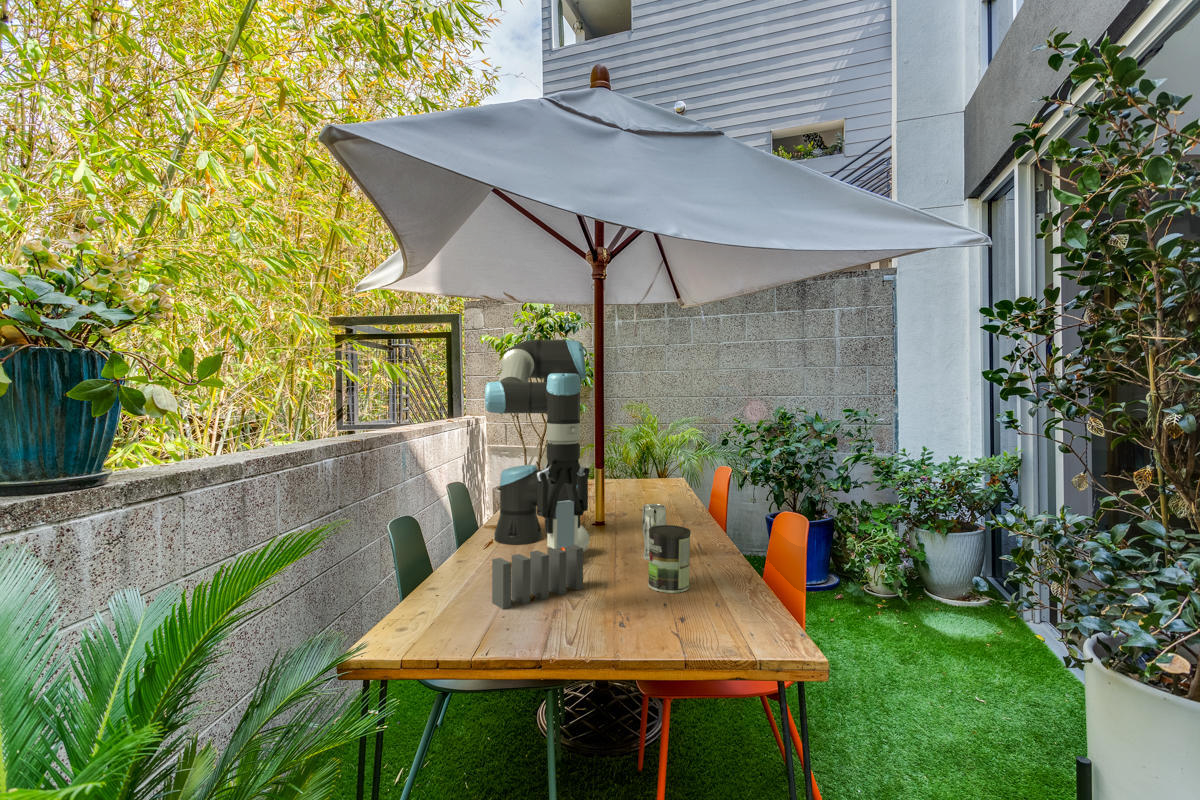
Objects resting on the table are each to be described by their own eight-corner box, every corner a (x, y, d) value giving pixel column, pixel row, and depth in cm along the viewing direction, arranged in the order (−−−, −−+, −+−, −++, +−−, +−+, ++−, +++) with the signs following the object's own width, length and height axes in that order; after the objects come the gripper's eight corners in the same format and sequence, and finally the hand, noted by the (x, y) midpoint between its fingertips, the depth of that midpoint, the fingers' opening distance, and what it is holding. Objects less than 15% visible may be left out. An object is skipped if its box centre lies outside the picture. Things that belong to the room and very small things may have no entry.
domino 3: (541, 599, 137) (541, 556, 137) (529, 593, 141) (530, 551, 140) (548, 597, 138) (548, 555, 138) (536, 591, 142) (537, 550, 142)
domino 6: (576, 590, 143) (576, 549, 143) (564, 585, 147) (564, 544, 147) (582, 588, 144) (583, 548, 144) (570, 583, 148) (571, 543, 148)
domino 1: (503, 609, 130) (503, 564, 130) (492, 603, 134) (492, 559, 134) (511, 607, 132) (511, 562, 132) (499, 601, 136) (500, 557, 135)
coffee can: (659, 595, 140) (659, 536, 140) (641, 582, 150) (641, 526, 149) (697, 590, 143) (698, 533, 143) (677, 577, 153) (678, 523, 153)
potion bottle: (581, 555, 178) (570, 576, 163) (555, 535, 178) (541, 555, 164) (598, 532, 176) (588, 551, 161) (572, 512, 176) (560, 530, 162)
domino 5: (559, 595, 140) (559, 552, 140) (547, 589, 144) (547, 548, 144) (566, 593, 141) (566, 551, 141) (554, 587, 145) (554, 546, 145)
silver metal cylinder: (665, 554, 174) (666, 504, 174) (665, 561, 167) (666, 508, 167) (641, 554, 175) (642, 503, 174) (641, 560, 168) (641, 508, 167)
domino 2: (522, 604, 134) (523, 560, 133) (511, 598, 138) (511, 555, 137) (530, 602, 135) (530, 558, 135) (518, 596, 139) (519, 553, 139)
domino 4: (550, 547, 133) (550, 502, 133) (568, 543, 136) (569, 500, 136) (555, 549, 131) (555, 504, 131) (573, 545, 134) (574, 501, 134)
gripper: (538, 445, 124) (537, 555, 125) (605, 441, 136) (604, 542, 136) (519, 442, 130) (519, 548, 131) (585, 438, 141) (584, 535, 142)
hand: (562, 544), depth 133 cm, fingers closed on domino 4, 5 cm apart
